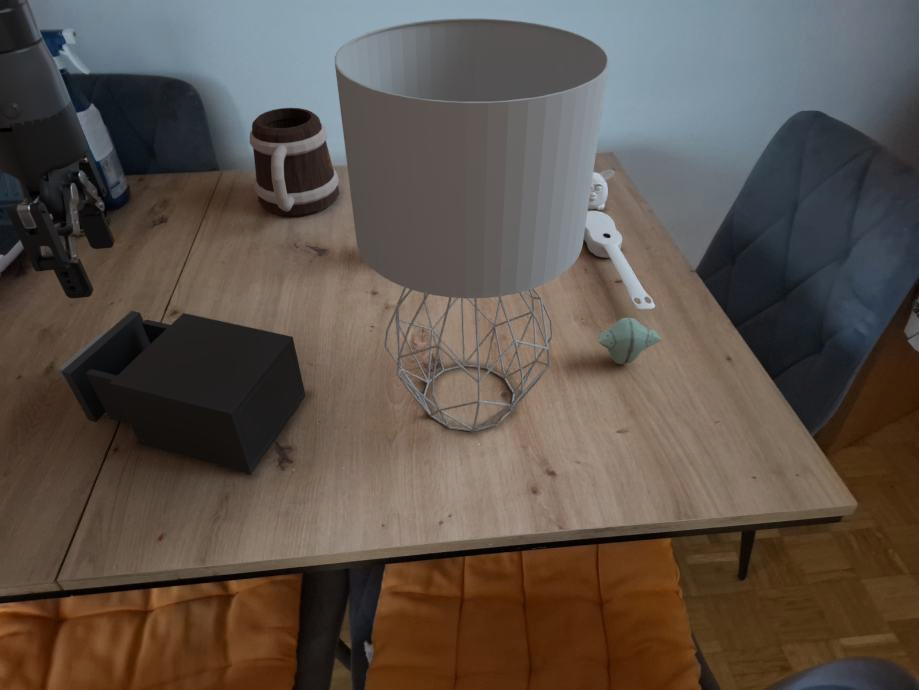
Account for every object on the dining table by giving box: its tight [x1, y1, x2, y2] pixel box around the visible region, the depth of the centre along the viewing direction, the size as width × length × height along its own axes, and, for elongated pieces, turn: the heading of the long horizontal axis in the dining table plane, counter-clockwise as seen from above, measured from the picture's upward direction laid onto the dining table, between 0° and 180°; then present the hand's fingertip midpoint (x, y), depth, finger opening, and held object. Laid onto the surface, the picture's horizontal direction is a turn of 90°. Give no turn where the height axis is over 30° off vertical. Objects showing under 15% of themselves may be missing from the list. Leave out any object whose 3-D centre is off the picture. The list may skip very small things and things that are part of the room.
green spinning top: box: [598, 317, 663, 365], centre depth 81 cm, size 8×4×7 cm, turn 93°
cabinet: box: [110, 312, 307, 475], centre depth 72 cm, size 15×13×10 cm
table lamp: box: [334, 17, 610, 432], centre depth 65 cm, size 22×22×40 cm
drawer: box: [56, 310, 171, 425], centre depth 75 cm, size 18×11×8 cm, turn 72°
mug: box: [249, 107, 340, 217], centre depth 111 cm, size 20×15×15 cm
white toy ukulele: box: [583, 210, 656, 311], centre depth 99 cm, size 28×6×3 cm, turn 7°
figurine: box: [588, 169, 615, 212], centre depth 114 cm, size 8×6×7 cm
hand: (93, 270), depth 62 cm, fingers open, 8 cm apart
